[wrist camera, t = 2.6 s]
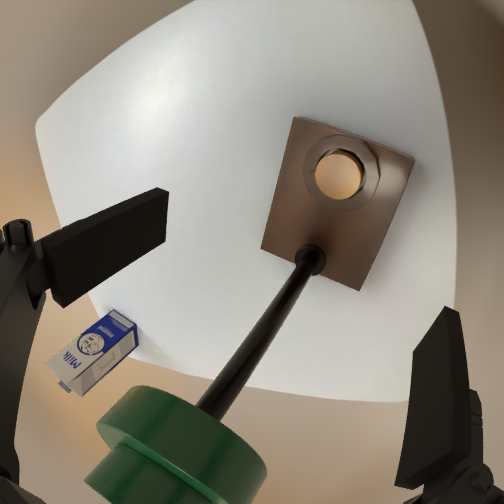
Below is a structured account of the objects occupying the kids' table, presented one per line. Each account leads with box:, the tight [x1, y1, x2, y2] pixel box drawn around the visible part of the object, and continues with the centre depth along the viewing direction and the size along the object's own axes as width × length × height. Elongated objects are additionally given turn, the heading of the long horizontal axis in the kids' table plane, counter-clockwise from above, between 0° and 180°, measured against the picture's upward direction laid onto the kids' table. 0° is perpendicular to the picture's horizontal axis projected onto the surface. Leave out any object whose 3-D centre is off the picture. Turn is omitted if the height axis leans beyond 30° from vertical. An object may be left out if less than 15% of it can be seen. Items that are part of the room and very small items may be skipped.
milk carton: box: [45, 310, 138, 397], centre depth 52 cm, size 7×7×20 cm
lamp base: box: [260, 117, 415, 291], centre depth 30 cm, size 12×15×4 cm
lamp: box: [84, 244, 327, 504], centre depth 21 cm, size 9×9×27 cm
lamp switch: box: [315, 151, 363, 200], centre depth 26 cm, size 4×4×2 cm
